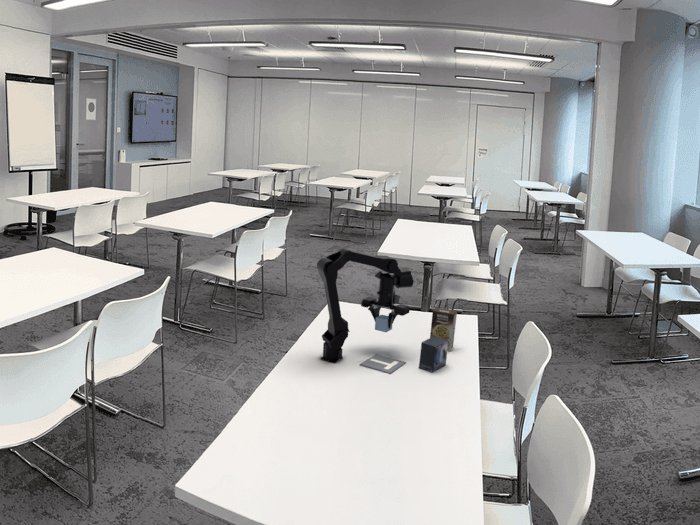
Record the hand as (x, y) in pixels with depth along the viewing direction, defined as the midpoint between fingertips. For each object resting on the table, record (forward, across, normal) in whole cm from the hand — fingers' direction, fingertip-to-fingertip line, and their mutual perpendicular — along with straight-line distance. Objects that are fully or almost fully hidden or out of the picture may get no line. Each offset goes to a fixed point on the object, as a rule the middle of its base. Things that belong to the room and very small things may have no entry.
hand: (383, 326), depth 229 cm
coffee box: (+11, -16, -22) cm, 29 cm away
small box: (+11, -22, 0) cm, 25 cm away
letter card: (+11, -6, +10) cm, 16 cm away
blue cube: (+1, 0, 0) cm, 1 cm away
